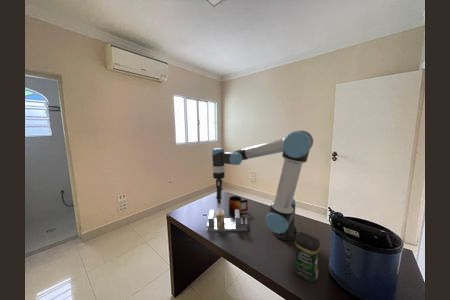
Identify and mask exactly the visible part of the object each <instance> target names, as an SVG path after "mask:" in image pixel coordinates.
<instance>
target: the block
mask: <svg viewBox="0 0 450 300" xmlns="http://www.w3.org/2000/svg"><path fill="white" fill-rule="evenodd" d="M215 214H216V216H215V218H216V224H217V227H218V226H224V218H225V209H217V210H216V212H215Z"/></svg>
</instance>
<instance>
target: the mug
mask: <svg viewBox="0 0 450 300" xmlns="http://www.w3.org/2000/svg"><path fill="white" fill-rule="evenodd" d="M242 204H245V208H242ZM235 209H239V214H240V216H241V215H242V213H243V212H248V211H249V210H248V200H247V199H244V200H243V199H242V198H241V196H237V195H233V196H229V198H228V214H229V216H231V217H232V218H235Z"/></svg>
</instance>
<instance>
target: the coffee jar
mask: <svg viewBox="0 0 450 300" xmlns="http://www.w3.org/2000/svg"><path fill="white" fill-rule="evenodd" d="M294 240H295V241H294V243H295V247H296V251H295V252H296V253H295V259H294V260H295V261H294V264H293V265H294V266H293V271H294V273H295V274H296V275H298V276H299V277H301V278H302V279H303V280H305V281H308V282H310V283H313V282H316V281H317V279H318V276H319V262H318V259H319V258H318V257H319V255H318V254H319V252H320V249H321V246H320V239H319V238H317V237H315V236H313V235H310V234H308V233H305V232H302V231H299V232H298V234H297V236H296V239H294Z"/></svg>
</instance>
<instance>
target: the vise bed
mask: <svg viewBox="0 0 450 300" xmlns="http://www.w3.org/2000/svg"><path fill="white" fill-rule="evenodd" d="M247 231H248V227H240V228H236V227H235V217H229V218H227V217H224V226H218V227H217V224H216V216H215V210H214V209H210V210H209V213H208V218H207V224H206V232H247Z"/></svg>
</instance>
